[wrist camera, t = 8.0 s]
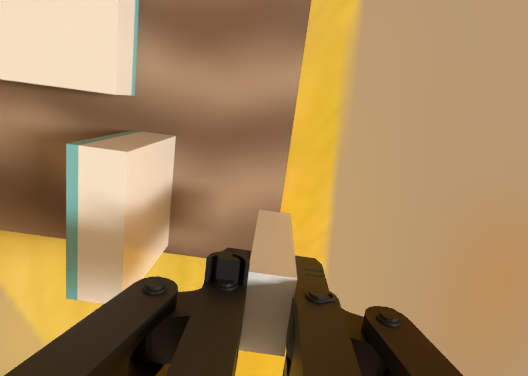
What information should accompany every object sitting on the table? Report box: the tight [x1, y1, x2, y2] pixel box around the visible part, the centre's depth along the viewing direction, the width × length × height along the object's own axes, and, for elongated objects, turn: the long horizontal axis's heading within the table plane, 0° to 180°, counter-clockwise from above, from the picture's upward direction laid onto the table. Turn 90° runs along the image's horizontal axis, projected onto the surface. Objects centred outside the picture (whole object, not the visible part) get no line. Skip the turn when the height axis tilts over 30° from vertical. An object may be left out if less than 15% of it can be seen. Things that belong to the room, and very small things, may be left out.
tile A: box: [0, 0, 139, 96], centre depth 19 cm, size 7×2×7 cm
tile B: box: [66, 130, 176, 304], centre depth 19 cm, size 7×2×7 cm, turn 173°
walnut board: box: [0, 0, 311, 258], centre depth 22 cm, size 17×18×2 cm
